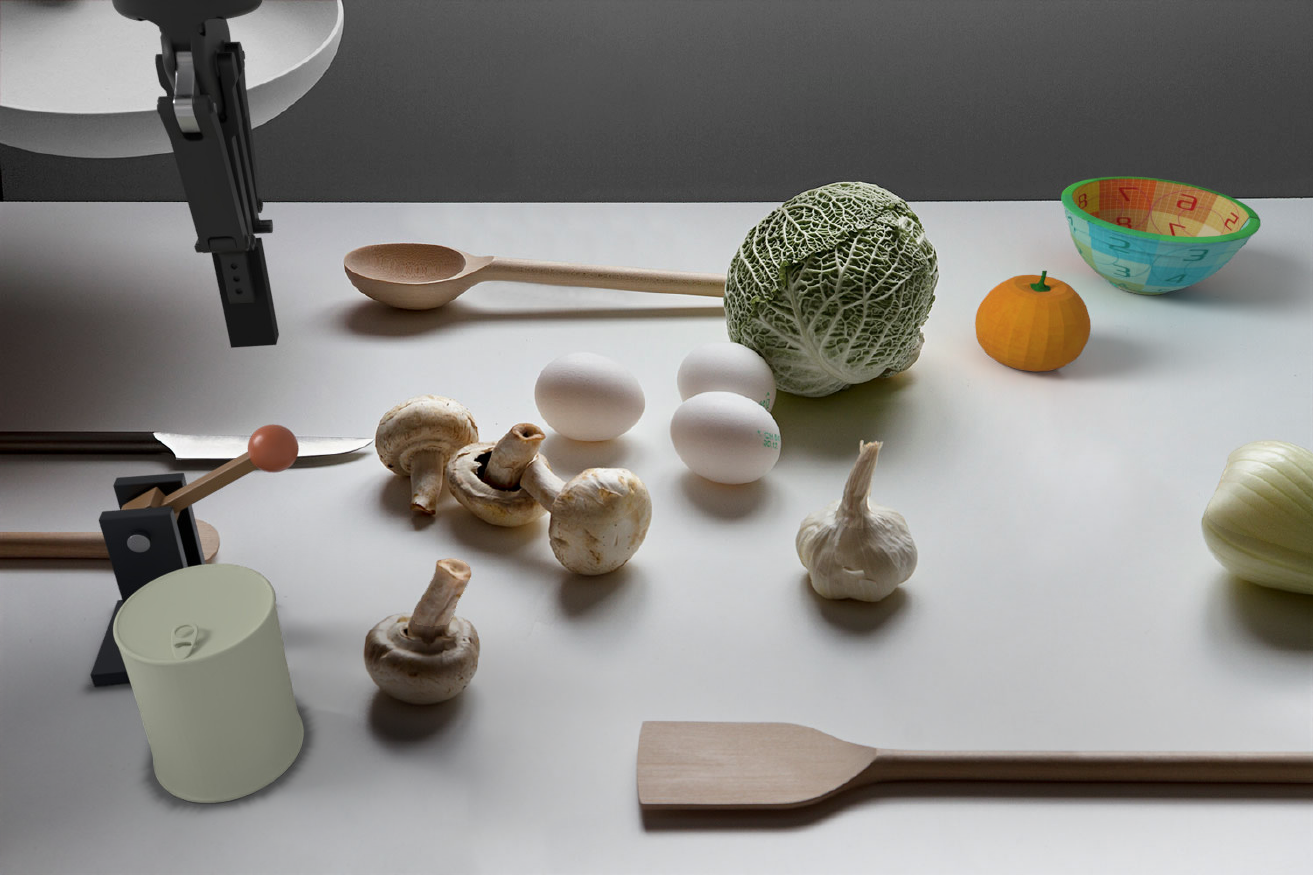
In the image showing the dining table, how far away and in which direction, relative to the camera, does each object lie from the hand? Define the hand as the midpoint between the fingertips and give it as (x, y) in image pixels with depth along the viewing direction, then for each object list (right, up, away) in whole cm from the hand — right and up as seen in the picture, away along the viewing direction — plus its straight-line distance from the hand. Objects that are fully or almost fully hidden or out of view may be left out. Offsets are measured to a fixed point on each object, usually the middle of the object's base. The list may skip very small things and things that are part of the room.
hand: (255, 340), depth 71 cm
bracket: (-9, -21, +11) cm, 25 cm away
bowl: (+85, +13, +69) cm, 110 cm away
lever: (-4, -10, +6) cm, 12 cm away
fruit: (+65, +2, +52) cm, 83 cm away
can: (-3, -26, +3) cm, 27 cm away
